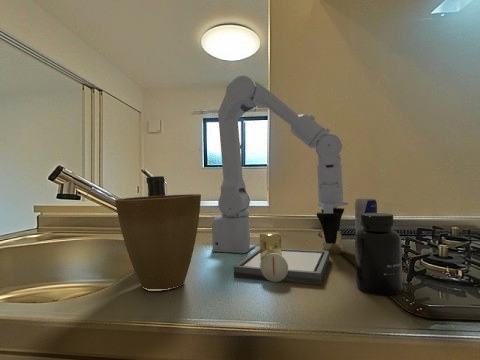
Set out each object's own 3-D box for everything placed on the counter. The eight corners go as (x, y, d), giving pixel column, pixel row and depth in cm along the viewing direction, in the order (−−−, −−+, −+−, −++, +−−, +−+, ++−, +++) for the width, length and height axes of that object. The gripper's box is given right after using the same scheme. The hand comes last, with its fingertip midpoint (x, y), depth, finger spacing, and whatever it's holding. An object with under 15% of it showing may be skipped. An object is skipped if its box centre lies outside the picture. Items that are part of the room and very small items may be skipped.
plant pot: (213, 272, 61) (210, 192, 61) (188, 302, 46) (184, 197, 46) (144, 271, 63) (141, 194, 63) (99, 299, 49) (95, 200, 49)
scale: (232, 278, 56) (231, 251, 56) (259, 256, 72) (258, 235, 72) (320, 286, 51) (319, 256, 51) (329, 260, 66) (328, 237, 66)
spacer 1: (257, 260, 61) (256, 235, 61) (263, 255, 66) (263, 232, 66) (278, 261, 60) (277, 236, 60) (283, 256, 64) (283, 232, 64)
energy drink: (380, 247, 76) (379, 199, 76) (358, 247, 77) (356, 200, 77) (375, 243, 81) (374, 198, 81) (354, 243, 82) (352, 198, 82)
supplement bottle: (401, 299, 44) (398, 217, 44) (352, 292, 48) (349, 216, 48) (404, 284, 50) (401, 212, 50) (360, 278, 54) (358, 211, 54)
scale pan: (243, 269, 58) (243, 266, 58) (263, 252, 70) (263, 250, 70) (313, 274, 53) (313, 271, 53) (321, 256, 65) (321, 253, 65)
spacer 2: (322, 253, 72) (321, 232, 72) (324, 249, 76) (323, 229, 76) (341, 254, 71) (340, 233, 71) (342, 250, 75) (341, 230, 75)
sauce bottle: (180, 259, 72) (176, 175, 72) (163, 266, 66) (159, 175, 66) (158, 257, 75) (155, 176, 75) (140, 264, 69) (136, 177, 69)
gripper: (346, 184, 65) (348, 247, 65) (348, 182, 79) (350, 234, 79) (313, 185, 68) (315, 245, 68) (320, 183, 81) (322, 234, 81)
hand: (332, 239), depth 74 cm, fingers open, 7 cm apart
